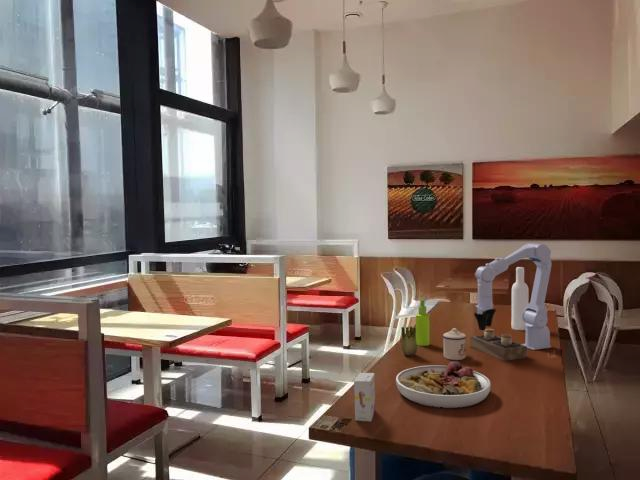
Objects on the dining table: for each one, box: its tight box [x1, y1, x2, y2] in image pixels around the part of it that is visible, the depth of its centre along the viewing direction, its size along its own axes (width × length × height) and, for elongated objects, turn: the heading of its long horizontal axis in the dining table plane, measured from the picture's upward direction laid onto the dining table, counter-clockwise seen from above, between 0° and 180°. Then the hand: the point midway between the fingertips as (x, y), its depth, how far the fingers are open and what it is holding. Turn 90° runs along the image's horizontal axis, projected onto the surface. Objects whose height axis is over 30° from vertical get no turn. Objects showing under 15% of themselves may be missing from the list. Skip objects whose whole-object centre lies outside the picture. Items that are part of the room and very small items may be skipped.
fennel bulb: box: [400, 325, 418, 357], centre depth 219 cm, size 6×5×12 cm
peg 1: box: [483, 328, 495, 339], centre depth 225 cm, size 4×4×5 cm
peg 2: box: [500, 333, 513, 345], centre depth 215 cm, size 4×4×5 cm
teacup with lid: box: [442, 327, 467, 361], centre depth 216 cm, size 12×9×12 cm
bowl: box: [395, 360, 492, 409], centre depth 174 cm, size 30×30×8 cm
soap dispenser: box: [415, 298, 431, 347], centre depth 235 cm, size 6×7×20 cm
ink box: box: [353, 372, 376, 422], centre depth 157 cm, size 9×5×12 cm, turn 165°
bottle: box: [511, 266, 530, 331], centre depth 259 cm, size 8×8×30 cm
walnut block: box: [469, 334, 528, 362], centre depth 220 cm, size 11×22×5 cm, turn 20°
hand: (485, 328), depth 221 cm, fingers open, 7 cm apart
